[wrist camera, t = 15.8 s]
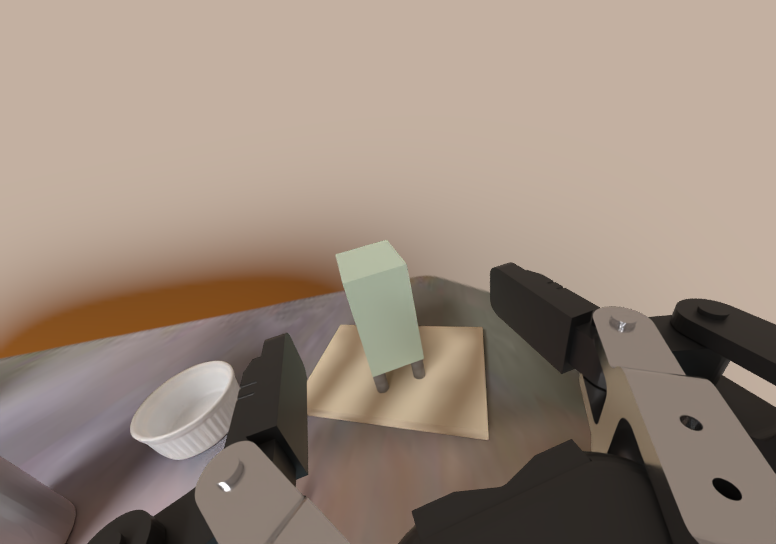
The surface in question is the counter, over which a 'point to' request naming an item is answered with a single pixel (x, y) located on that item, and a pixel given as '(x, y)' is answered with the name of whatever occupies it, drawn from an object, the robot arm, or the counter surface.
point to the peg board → (406, 384)
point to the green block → (381, 305)
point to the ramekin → (188, 411)
